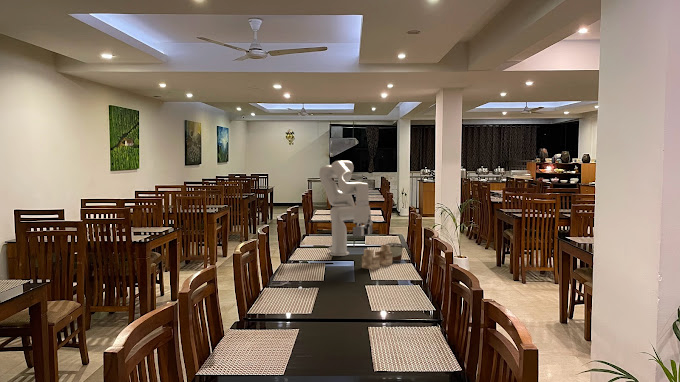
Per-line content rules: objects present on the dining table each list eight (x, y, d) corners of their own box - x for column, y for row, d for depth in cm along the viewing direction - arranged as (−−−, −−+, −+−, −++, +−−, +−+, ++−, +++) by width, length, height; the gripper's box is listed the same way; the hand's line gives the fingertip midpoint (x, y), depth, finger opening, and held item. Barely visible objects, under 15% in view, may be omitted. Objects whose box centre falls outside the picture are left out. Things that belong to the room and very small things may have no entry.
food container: (403, 258, 313) (403, 242, 312) (403, 261, 307) (403, 244, 306) (383, 258, 314) (383, 242, 313) (383, 260, 308) (383, 244, 307)
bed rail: (352, 235, 296) (352, 227, 295) (367, 232, 306) (366, 224, 306) (358, 236, 293) (358, 227, 293) (372, 233, 304) (372, 225, 304)
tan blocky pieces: (361, 267, 290) (361, 248, 289) (380, 261, 305) (380, 243, 304) (374, 269, 285) (373, 250, 284) (392, 263, 300) (392, 245, 299)
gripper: (347, 203, 301) (347, 234, 302) (370, 204, 290) (370, 236, 292) (355, 202, 307) (355, 232, 308) (377, 203, 296) (378, 234, 297)
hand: (362, 234), depth 300 cm, fingers closed on bed rail, 4 cm apart
